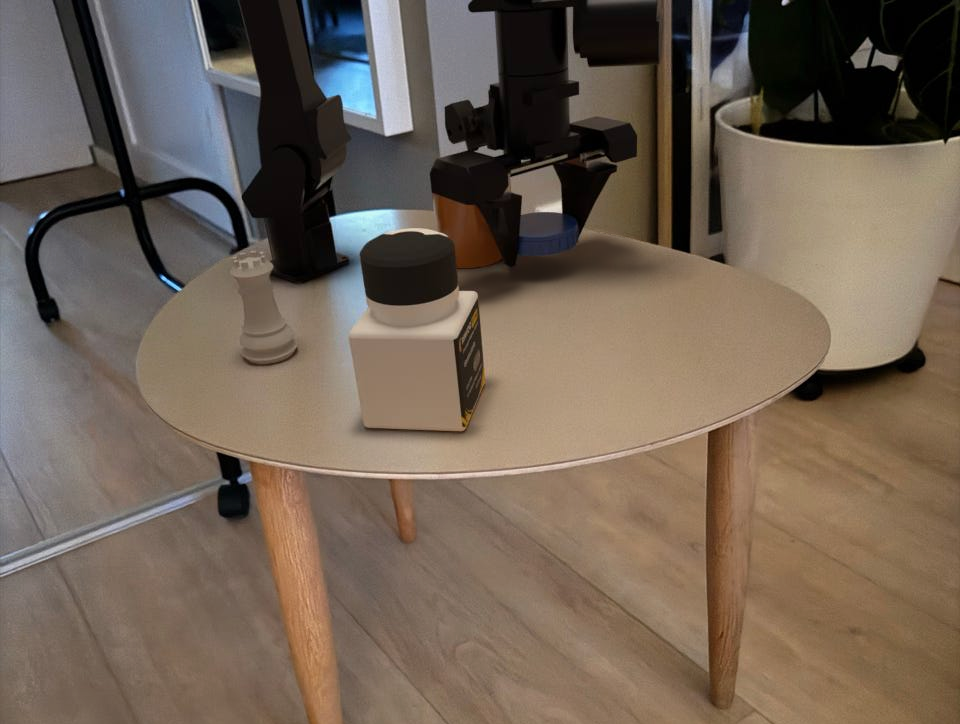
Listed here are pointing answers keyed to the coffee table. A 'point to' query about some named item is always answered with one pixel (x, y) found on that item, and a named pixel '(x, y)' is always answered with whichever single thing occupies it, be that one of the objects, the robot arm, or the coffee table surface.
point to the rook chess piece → (261, 312)
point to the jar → (465, 232)
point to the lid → (547, 233)
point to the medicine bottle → (416, 335)
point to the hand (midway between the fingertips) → (541, 255)
